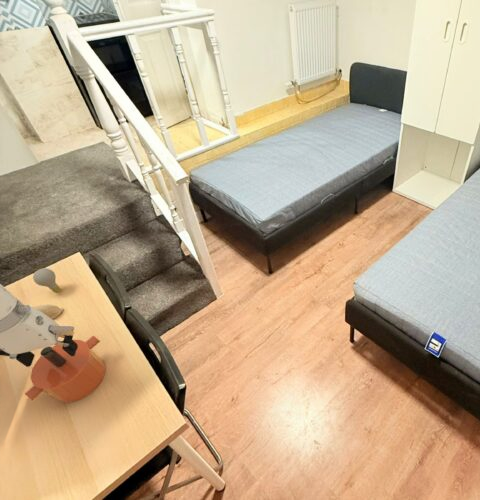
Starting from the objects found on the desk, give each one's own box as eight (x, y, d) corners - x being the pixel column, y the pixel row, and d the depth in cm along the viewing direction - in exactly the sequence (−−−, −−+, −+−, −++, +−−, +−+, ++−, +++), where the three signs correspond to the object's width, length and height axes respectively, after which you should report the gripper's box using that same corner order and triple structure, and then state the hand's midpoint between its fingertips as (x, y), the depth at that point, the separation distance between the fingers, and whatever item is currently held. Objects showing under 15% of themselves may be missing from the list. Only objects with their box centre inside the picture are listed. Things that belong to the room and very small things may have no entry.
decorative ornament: (59, 319, 103) (48, 309, 99) (30, 323, 102) (19, 313, 99) (64, 308, 106) (54, 298, 102) (36, 312, 105) (25, 302, 101)
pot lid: (22, 374, 82) (2, 360, 77) (73, 333, 90) (57, 318, 85) (52, 401, 77) (32, 388, 72) (102, 355, 85) (87, 341, 80)
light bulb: (45, 293, 111) (25, 273, 104) (62, 282, 114) (43, 262, 107) (53, 300, 109) (33, 280, 101) (70, 289, 112) (52, 269, 105)
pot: (34, 396, 86) (11, 382, 80) (96, 342, 97) (80, 326, 91) (61, 421, 82) (39, 408, 76) (123, 362, 92) (108, 346, 86)
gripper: (53, 291, 72) (94, 333, 84) (-36, 310, 70) (19, 351, 82) (42, 320, 67) (88, 360, 79) (-56, 341, 65) (7, 380, 77)
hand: (53, 355), depth 80 cm, fingers open, 9 cm apart
